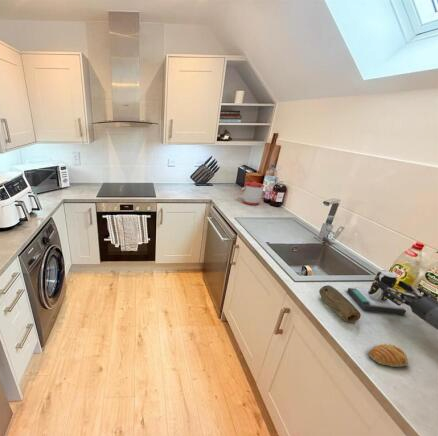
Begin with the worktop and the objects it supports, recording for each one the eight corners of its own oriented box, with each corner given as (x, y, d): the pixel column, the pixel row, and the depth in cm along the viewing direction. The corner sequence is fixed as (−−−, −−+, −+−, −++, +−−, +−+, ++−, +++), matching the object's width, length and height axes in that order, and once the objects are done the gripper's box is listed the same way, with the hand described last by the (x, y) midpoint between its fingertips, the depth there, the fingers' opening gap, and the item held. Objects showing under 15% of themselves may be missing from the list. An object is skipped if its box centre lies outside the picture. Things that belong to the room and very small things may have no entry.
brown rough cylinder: (313, 296, 100) (318, 284, 98) (328, 295, 101) (333, 283, 98) (343, 325, 87) (349, 311, 84) (360, 323, 87) (367, 310, 85)
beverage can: (378, 303, 93) (390, 278, 88) (363, 293, 98) (374, 269, 93) (390, 301, 94) (403, 277, 89) (375, 291, 99) (386, 268, 94)
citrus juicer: (238, 199, 217) (242, 178, 209) (258, 201, 213) (263, 179, 205) (240, 205, 203) (244, 182, 195) (261, 207, 199) (266, 184, 191)
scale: (382, 295, 101) (385, 290, 100) (403, 315, 91) (407, 309, 90) (346, 291, 103) (349, 286, 102) (363, 310, 93) (366, 304, 92)
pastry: (382, 370, 71) (387, 362, 70) (361, 350, 77) (365, 342, 76) (409, 366, 72) (414, 358, 71) (385, 347, 79) (390, 339, 77)
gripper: (464, 305, 75) (410, 274, 90) (422, 307, 75) (375, 275, 89) (452, 323, 78) (401, 290, 93) (412, 324, 78) (367, 291, 92)
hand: (388, 282), depth 91 cm, fingers open, 8 cm apart
